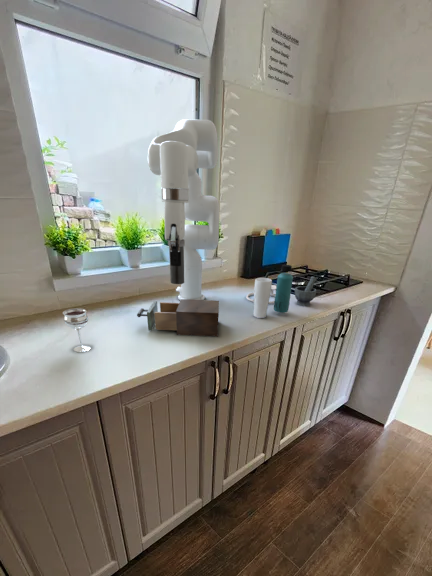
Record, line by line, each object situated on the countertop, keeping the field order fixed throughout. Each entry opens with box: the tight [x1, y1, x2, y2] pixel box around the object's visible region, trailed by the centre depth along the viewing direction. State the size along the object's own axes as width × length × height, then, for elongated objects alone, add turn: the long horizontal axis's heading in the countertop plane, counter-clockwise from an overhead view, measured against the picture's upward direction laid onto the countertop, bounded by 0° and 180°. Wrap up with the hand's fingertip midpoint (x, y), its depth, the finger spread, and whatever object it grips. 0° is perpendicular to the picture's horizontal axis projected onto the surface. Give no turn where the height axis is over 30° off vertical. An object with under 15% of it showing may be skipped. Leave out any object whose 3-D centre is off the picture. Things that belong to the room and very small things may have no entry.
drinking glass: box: [252, 277, 273, 319], centre depth 130 cm, size 7×7×15 cm
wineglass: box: [62, 308, 91, 353], centre depth 99 cm, size 7×7×12 cm
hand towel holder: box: [245, 284, 277, 305], centre depth 156 cm, size 17×4×20 cm
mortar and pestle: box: [294, 276, 317, 307], centre depth 148 cm, size 11×9×12 cm
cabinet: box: [176, 299, 220, 338], centre depth 118 cm, size 15×15×9 cm
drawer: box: [136, 300, 180, 332], centre depth 118 cm, size 18×13×7 cm
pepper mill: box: [167, 239, 185, 285], centre depth 99 cm, size 5×5×14 cm
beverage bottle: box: [273, 264, 294, 314], centre depth 133 cm, size 6×7×20 cm
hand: (177, 263), depth 100 cm, fingers closed on pepper mill, 4 cm apart
